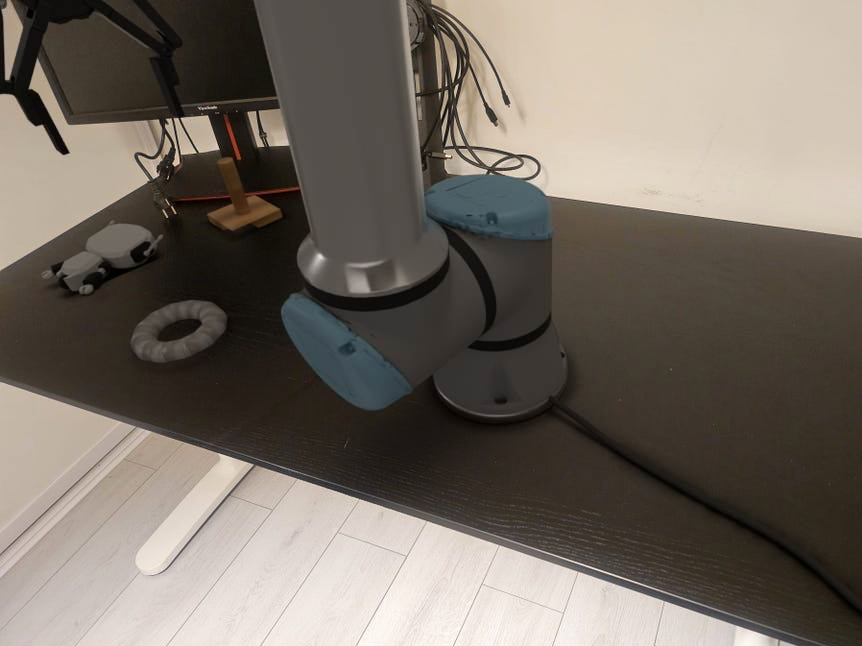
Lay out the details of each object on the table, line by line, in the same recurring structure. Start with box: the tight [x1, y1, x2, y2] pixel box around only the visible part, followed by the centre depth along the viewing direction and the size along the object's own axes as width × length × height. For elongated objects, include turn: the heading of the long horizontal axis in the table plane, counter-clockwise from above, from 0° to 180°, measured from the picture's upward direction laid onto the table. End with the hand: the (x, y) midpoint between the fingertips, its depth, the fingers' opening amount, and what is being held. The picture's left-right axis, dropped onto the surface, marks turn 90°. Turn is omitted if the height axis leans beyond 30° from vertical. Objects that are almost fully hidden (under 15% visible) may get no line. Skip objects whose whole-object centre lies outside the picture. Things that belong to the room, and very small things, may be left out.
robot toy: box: [41, 220, 164, 295], centre depth 93 cm, size 12×4×15 cm
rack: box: [206, 156, 283, 231], centre depth 101 cm, size 9×9×10 cm
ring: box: [130, 299, 228, 364], centre depth 79 cm, size 12×12×3 cm
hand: (123, 132), depth 73 cm, fingers open, 13 cm apart
